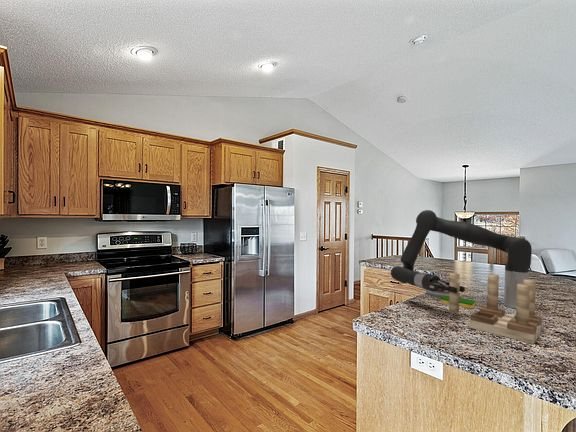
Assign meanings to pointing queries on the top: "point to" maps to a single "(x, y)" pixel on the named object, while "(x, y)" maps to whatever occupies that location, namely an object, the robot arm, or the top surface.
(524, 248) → the robot arm
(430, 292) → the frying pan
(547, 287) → the top surface
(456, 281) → the stool leg
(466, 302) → the dish sponge
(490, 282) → the stool seat
